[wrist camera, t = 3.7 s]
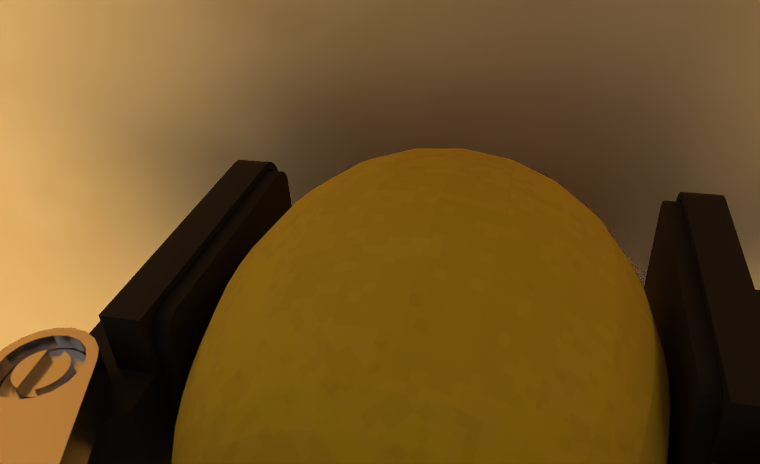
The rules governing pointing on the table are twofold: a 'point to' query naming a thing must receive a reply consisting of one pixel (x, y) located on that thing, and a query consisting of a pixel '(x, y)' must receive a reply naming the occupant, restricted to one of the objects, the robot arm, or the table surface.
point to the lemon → (430, 329)
